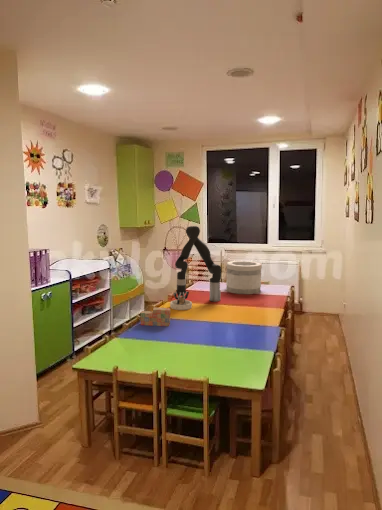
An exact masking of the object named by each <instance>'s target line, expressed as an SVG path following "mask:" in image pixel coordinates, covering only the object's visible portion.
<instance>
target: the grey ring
mask: <svg viewBox="0 0 382 510" xmlns="http://www.w3.org/2000/svg"><path fill="white" fill-rule="evenodd" d="M169 306H170V309H171V310H176V311H187V310H190V309H192V306H193V303H192V301H191V300H187V299H185V303H184V304H180V305H178V303H177V300H176V299H174V300H171V301H170V303H169Z"/></svg>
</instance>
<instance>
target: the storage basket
mask: <svg viewBox="0 0 382 510" xmlns="http://www.w3.org/2000/svg"><path fill="white" fill-rule="evenodd" d="M262 265H263V264H262V263H261V262H258V261H251V260H233V261H232V260H231V261H228V262H226V275H225V276H226V284H225V285H226V287H225V288H226V292H229V293H232V294H237V295H253V293H255V294H258V293H260V292H261V287H262V268H263V267H262Z"/></svg>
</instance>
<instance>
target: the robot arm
mask: <svg viewBox="0 0 382 510" xmlns="http://www.w3.org/2000/svg"><path fill="white" fill-rule="evenodd" d="M200 233H201V230H200V227H199V226H197V225H190V226H187V227H186V229H185V234H186V236H187V237H188V241H187V242H186V243H185V244H184V246H183V248H182V250H181V253H180V255H179V256H178V258H177V260H175V264H174V265H175V268H176V269H179V270H180V271H178V272H177V273H176V291H175V292H173V296H174V300H177V303H178V304H179V298H180V297H184V303H185V300H187V299H188V297H189V294H190V292H189V291H187V290H186V289H187V288H186V287H187V286H186V285H187V280H186V273H187V270H188V262H187V261H186V260H188V259H189V258H190V254H191V251H192V249H193V247H194V248H196V250H197V252H198V254H199V256H200V258H201V259H202V261H203V262H204V263H205V266H206V268H207V271H208V272H209V273H210V274H212V275H211V276H212V277H211V278H210V279H209V301H211V302H220V301H221V299H222V297H221V294H222V293H221V291H222V290H221V278H222V267H221V266H220V265H219V264H216V263H215V262H214V261H213V259H212V256H211V251H210V248H209V247H208V245H207V243H205V242H203V240H201V239H200V238H199V235H200Z"/></svg>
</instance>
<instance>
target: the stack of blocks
mask: <svg viewBox="0 0 382 510" xmlns="http://www.w3.org/2000/svg"><path fill="white" fill-rule="evenodd" d="M170 325H171V307H170V308H169V307H153V309H152V311H150V310H141V312H140V326H153V327H154V326H155V327H170Z"/></svg>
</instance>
